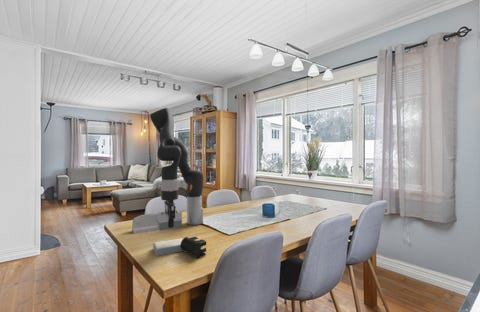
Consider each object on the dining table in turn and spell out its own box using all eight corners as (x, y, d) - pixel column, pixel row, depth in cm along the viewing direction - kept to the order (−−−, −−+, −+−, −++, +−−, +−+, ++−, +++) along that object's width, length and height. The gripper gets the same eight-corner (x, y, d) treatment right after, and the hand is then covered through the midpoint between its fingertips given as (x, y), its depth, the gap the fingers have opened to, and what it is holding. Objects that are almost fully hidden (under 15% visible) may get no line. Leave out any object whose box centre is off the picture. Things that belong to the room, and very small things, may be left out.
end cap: (180, 253, 111) (180, 238, 111) (193, 249, 117) (193, 234, 116) (193, 260, 104) (193, 244, 104) (207, 255, 110) (206, 239, 109)
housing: (157, 227, 116) (157, 211, 116) (179, 224, 120) (179, 209, 120) (159, 230, 111) (159, 213, 111) (181, 227, 116) (181, 211, 116)
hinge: (133, 233, 138) (131, 215, 140) (131, 234, 142) (130, 216, 144) (163, 228, 146) (162, 211, 149) (161, 229, 150) (160, 212, 153)
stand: (183, 243, 123) (183, 237, 123) (188, 250, 115) (187, 243, 115) (153, 248, 117) (153, 242, 117) (156, 256, 109) (156, 249, 109)
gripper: (158, 187, 120) (159, 222, 120) (163, 191, 107) (164, 231, 108) (174, 186, 123) (174, 220, 124) (181, 190, 111) (181, 228, 111)
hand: (169, 225), depth 116 cm, fingers closed on housing, 5 cm apart
